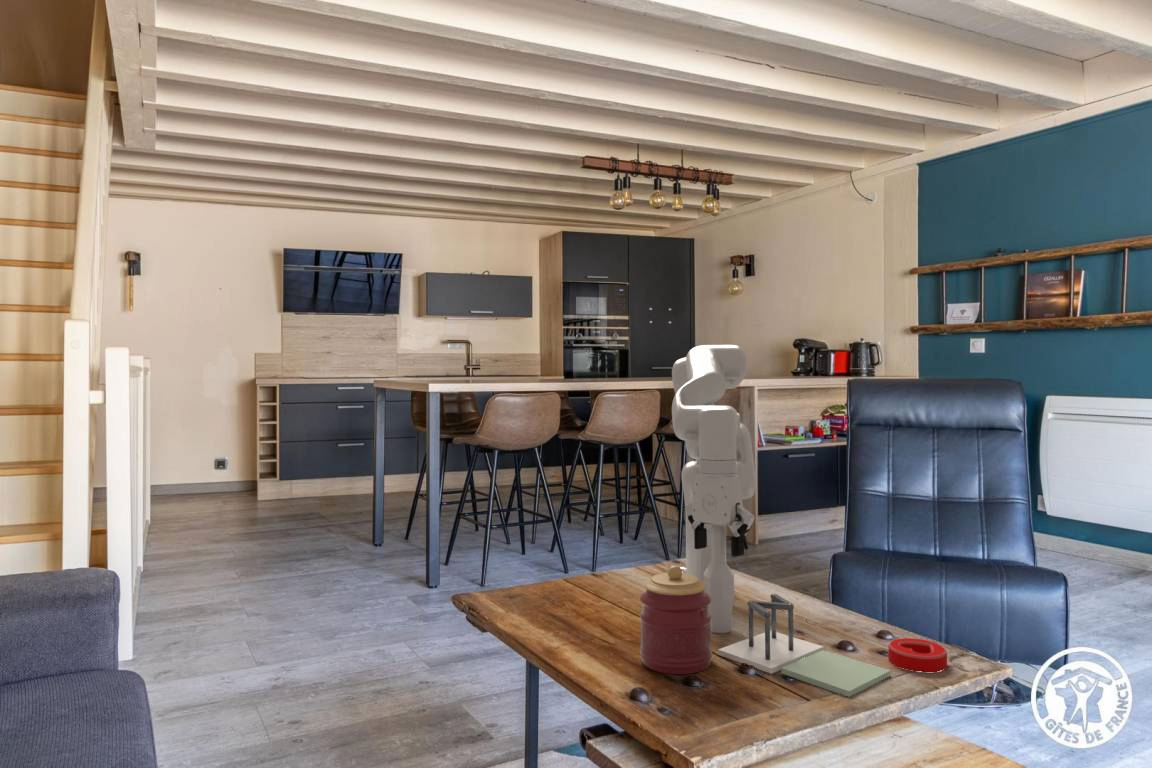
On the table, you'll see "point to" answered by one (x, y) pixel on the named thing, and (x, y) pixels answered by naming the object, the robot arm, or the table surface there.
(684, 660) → the canister
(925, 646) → the decorative ornament
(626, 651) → the table surface
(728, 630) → the faceted bottle
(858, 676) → the pale green flat panel
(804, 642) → the wire board
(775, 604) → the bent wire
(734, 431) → the robot arm
